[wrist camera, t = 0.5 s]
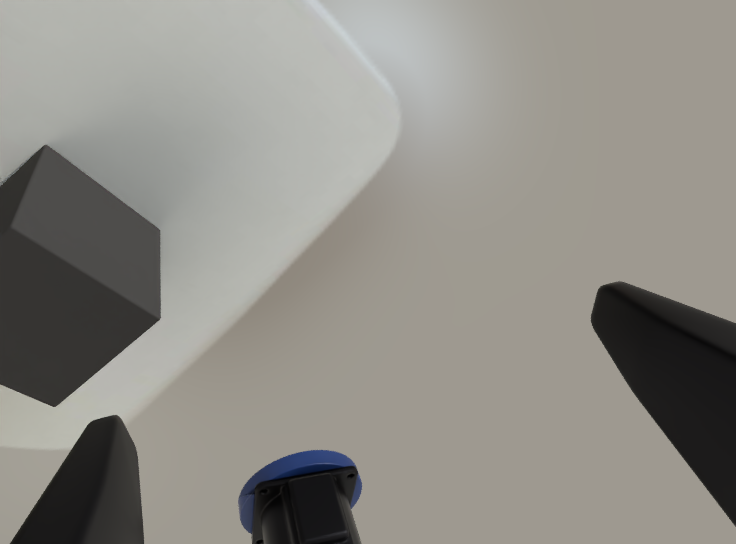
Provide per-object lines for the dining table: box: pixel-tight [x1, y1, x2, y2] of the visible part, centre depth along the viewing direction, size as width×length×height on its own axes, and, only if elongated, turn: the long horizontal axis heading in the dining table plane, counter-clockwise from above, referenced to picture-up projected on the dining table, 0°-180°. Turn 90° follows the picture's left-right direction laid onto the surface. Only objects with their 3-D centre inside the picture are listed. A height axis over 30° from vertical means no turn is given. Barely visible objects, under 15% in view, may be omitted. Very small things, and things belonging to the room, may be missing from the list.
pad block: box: [0, 145, 161, 407], centre depth 17 cm, size 5×5×6 cm
